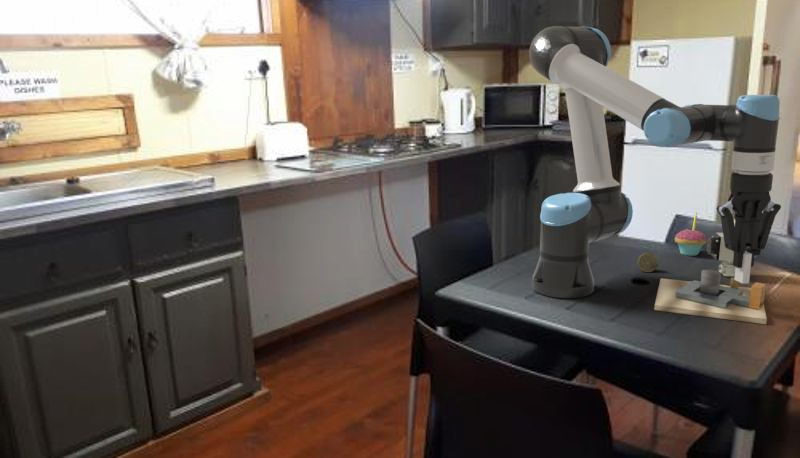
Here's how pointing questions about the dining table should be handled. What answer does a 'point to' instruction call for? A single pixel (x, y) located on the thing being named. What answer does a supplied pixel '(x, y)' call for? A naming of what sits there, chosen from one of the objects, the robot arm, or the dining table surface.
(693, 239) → the cupcake
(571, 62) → the robot arm
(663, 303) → the post board
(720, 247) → the pneumatic valve
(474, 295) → the dining table surface
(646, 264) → the lime
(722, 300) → the flange plate
